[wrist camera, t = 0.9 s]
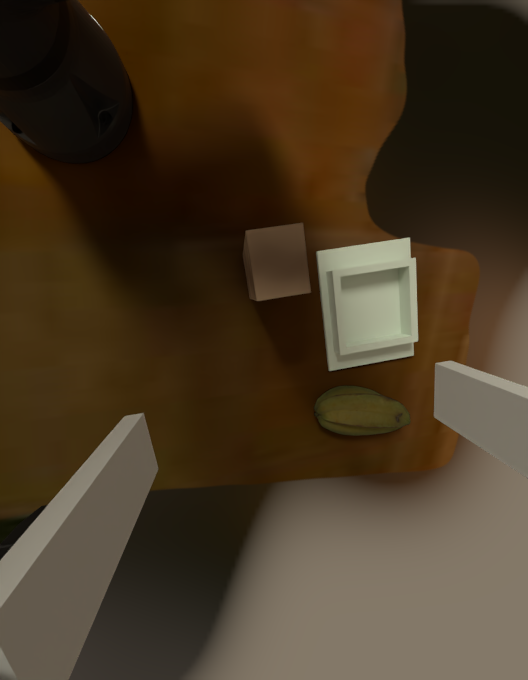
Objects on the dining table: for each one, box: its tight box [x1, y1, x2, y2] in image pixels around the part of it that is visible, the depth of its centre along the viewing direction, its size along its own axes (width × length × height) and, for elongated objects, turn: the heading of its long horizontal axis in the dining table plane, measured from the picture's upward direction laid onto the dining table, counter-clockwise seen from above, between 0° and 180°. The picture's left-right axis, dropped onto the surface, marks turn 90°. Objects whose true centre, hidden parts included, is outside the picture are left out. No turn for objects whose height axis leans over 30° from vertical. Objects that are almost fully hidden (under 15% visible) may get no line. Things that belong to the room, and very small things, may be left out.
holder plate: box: [316, 238, 418, 371], centre depth 36 cm, size 18×14×3 cm
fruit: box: [314, 386, 410, 436], centre depth 37 cm, size 11×12×7 cm
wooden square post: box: [243, 223, 311, 301], centre depth 29 cm, size 6×5×14 cm
